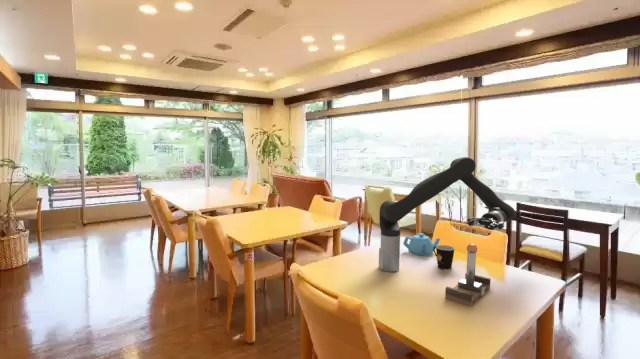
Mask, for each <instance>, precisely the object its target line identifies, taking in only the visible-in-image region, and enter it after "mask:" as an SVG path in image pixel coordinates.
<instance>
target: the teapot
mask: <svg viewBox="0 0 640 359" xmlns="http://www.w3.org/2000/svg"><path fill="white" fill-rule="evenodd" d="M409 240H410V241H409ZM408 241H409V243H408ZM440 241H441V238H440V237H436V238H435V240H434V241H432V239H430V236H427V235H425V233H422V232H420V233H419V232H416V234H415V235H413V237H412V236H409V235H408V236H407V235H406V236H405V238H404V240H403V242H402V243H403V245H404V247H405V248H407V249H408V251H409V253H411V255H416V256H421V257H425V256H426V257H427V256H430V255H432V254H433V253H434V251H433V248H434V247H436V246H438V245H439V242H440ZM435 250H436V248H435Z"/></svg>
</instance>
